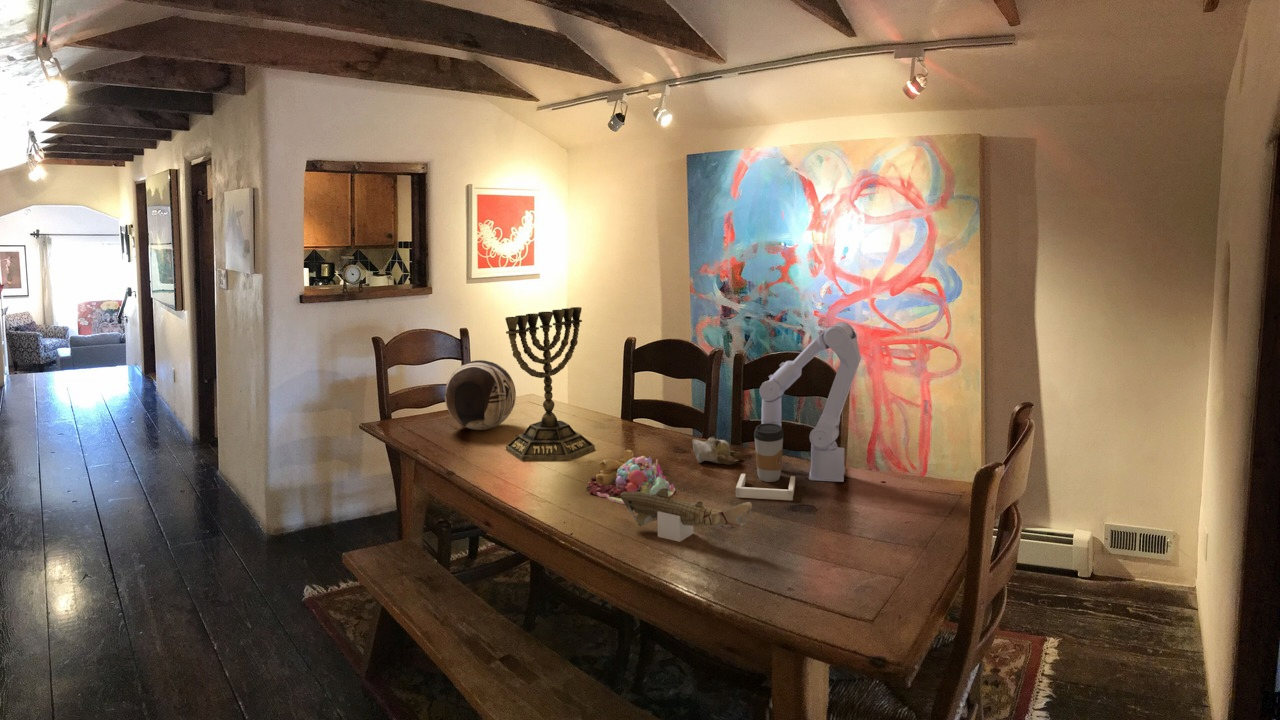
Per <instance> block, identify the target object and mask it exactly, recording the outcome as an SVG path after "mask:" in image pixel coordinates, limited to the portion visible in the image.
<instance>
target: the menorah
mask: <svg viewBox="0 0 1280 720" xmlns="http://www.w3.org/2000/svg"><path fill="white" fill-rule="evenodd" d="M581 314H582V307H581V306H572V307H568V308H567V307H566V308H561V309H552V311H538V313H526V314H525V315H524V314H521V315H515V316H508V317H507V316H506V317H505V322H506V325H507V329H508V330H507V331H505V334H506V335H508V339H509V344H510V347H511V351H512V356H513V358H515V359H516V362H517V363H518V365H519V367H520V369H521V370H523V371H524V372H525V373H527V374H528V375H529V376H531V377H535V378H539V379H543V383H544V387H543V391H544V395H543V397H544V399H545V400H544V401H543V403H542V406H543V409H544V411H545V413H543V415H542V416H541V421H540V420H539V421H537V422H535V423H532V424H529V426H528V427H527V428H526V429H525V431H524V432H523V433H520V434H518V435H517V436H516V437H514V439H512V440H511V441H510V442H509V443H507V444H506V445H505V451H506V452H508V453H509V454H511V455H512V456H514V457H515V458H517V459H518V460H520V461H521V462H539V461H540V462H549V461H550V462H552V461H553V462H555V461H557V462H558V461H560V462H561V461H564V462H565V461H566V462H567V461H571V460H573V459H575V458H578V457H580V456H583V455H585V454H588V453H590V452H592V451H596V450H595V448H596V447H595V444H593V443H592V442H591V441H590V440H589V439H588V438H586V437H584V436H583V435H582V434H581V433H579V432H577V431H575V430H574V429H573V428H572V426H571V424H568V423H567V422H565V421H563V420H558V418H557V416H556V414H555V413H554V412H553V410H554V408H555V402H554V401H553V400H552V398H553V395H554V394H553V392H552V391H553V386H552V383H553V379H552V377H551V376H554V375H556V374H558V373H559V372H561V371H562V370H564V368H565V367H566V365H567V364H568V363H569V361H571V359H572V358H573V353H574V351H575V349H576V347H577V346H578V343H579V342H578V338H579V331H580V329H579V328H580V325H581V324H580V323H582V322H583V320H582V319H580V317H581ZM552 318H553V319H554V322H553V323H552V324H551V321H552ZM538 320H540V322H541V324H542V325H539V326H537V324H538ZM563 320H564V321H563ZM527 324H528V325H527ZM527 326H528V327H527ZM553 326H554V329H555V334H554V335H553V337H552V341H550V336H549V332H550V330H551V328H553ZM517 327H518V329H517ZM563 327H564V329H565V331H564V336H563V339H561V335H562V332H561V331H562V330H563ZM572 327H573V332H572V338H571V340H570V341H569V338H570V333H571V329H572ZM540 328H541V329H542V333H543V341H542V343H543V344H541V341H540V340H539V338H538V337H537V334H538V333H537V331H538V330H539V329H540ZM527 332H528V333H529V335H530V339H531V344H532V345H533V347H535V348H536V349H538V351H540V352H543V353H542V357H543V358H539V357H538V356H537V355H535V353H534V352H533V351H532V348H531V347H530V346H529V344H528V341H527ZM517 335H518V336H517ZM517 337H519V338H520V342H521V345H522V348H523V353H524V354H525V355H527V357H528V358H529V360H531V361H532V362H533V363H536V364H537V363H538V364H541V365H543V366H542V369H543V371H537V370H536V369H533V368H531V367H530V366H529V364H528V363H527V361H525V359H523V357H522V352H521V351H520V350H519V347H518V344H517V340H516V339H517ZM560 341H561V342H560ZM559 342H560V346H559V347H558V350H557V351H555V353H554V354H553V355H552V353H551V351H550V350H553V349H554V348H555V347H556V346H557V345H558V343H559ZM569 342H570V343H569ZM568 345H570V346H569V347H568V349H567V352H565V349H566V348H567V346H568ZM564 352H565V354H564V358H563V360H561V362H559V363H558V364H557V366H556V367H554V368H553V367H552V364H551V363H553V362H554V361H556V360H557V359H559V358H560V357H561V356H562V353H564Z"/></svg>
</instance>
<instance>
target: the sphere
mask: <svg viewBox="0 0 1280 720" xmlns="http://www.w3.org/2000/svg"><path fill="white" fill-rule="evenodd" d="M444 389H445V390H444V402H445V406H446V408H447V411H448V412H449V414H450V416H451V418H453V420H455V422H457V423H458V424H459V425H461V426H463V427H464V428H466V429H470V430H475V431H486V430H490V429H493V428H496V427H498V426H499V425H501V424H502V423H503V422H504V421H506V420H507V419H508V417H509V416H510V415H511V413H512V411H513V409H514V406H515V404H516V403H515V402H516V398H517V394H516V393H517V392H516V386H515V383H514V381H513V379H512V377H511V375H510V373H509V372H507V370H506V369H505V368H504V367H502V366H501V365H499V364H497V363H495V362H493V361H489V360H483V359H480V360H479V359H478V360H471V361H468V362H466V363H464V364H462V365H460V366H459V367H457V368H456V369H455V370H454V371H453V372H452V373H451V375H450V376H449V378H448V381H447V382H446V385H445V388H444Z"/></svg>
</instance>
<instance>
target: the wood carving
mask: <svg viewBox="0 0 1280 720" xmlns="http://www.w3.org/2000/svg"><path fill="white" fill-rule="evenodd" d="M620 497H621V499H622V500H623V502H624V503H625V504H624V505H625V506H626V507H627V509H628V511H629V512H630V515H632V517H633V518H634V519H635V520H634V521H636V523H637V525H638V526H640V527H641V526H646V525H648V523H650V522H654V521H657V538H663V539H666V540H670V541H675V542H678V543H679V542H682V541H684V540H686V539H687V538H689V537H691V536H692V535H693V534H694V527H715V528H721V529H726V530H734V531H743V530H744V528H745V524H746V522H747V520H748V518H749V515H750V513H751V510H752V508H753V504H752V502H750V501H747V502H742V503H740V504H737V505H734V506H732V507H729V508H728V509H726V510H720V509H716V508H711V507H708V506H707V507H706V506H704V504H703V502H702V501H697V503H694V502H687V501H683V500H679V499H673V498H670V497H668V489H667V488H662V489H660V490H659V491H658V492H657V493H656V494H655V495H654V494H652V495H651V494H646V493H642V492H641V493H637V492H622V493H621V494H620ZM634 513H636V514H637V516H636V515H634ZM745 513H746V518H745V520H744V522H743V520H742V519H743V516H744V514H745ZM727 526H728V527H727Z"/></svg>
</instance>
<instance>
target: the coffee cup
mask: <svg viewBox="0 0 1280 720" xmlns="http://www.w3.org/2000/svg"><path fill="white" fill-rule="evenodd" d="M753 433H754V434H753V438H754V451H755V462H756V469H757V470H756V471H757V472H756V473H757V477H758V479H759V480H760V481H762V482H766V483H772V482H773V483H774V482H776V481H779V480H780V478H781V476H782V475H781V474H782V473H781V472H782V465H783V464H782V463H783V460H782V459H783V450H784V449H783V443H784V437H785V435H784V430H783V427H782V425H781V426H779V425H777V424H772V423H765V424H761V423H760V424H758V425H756V426H755V430H753Z"/></svg>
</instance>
